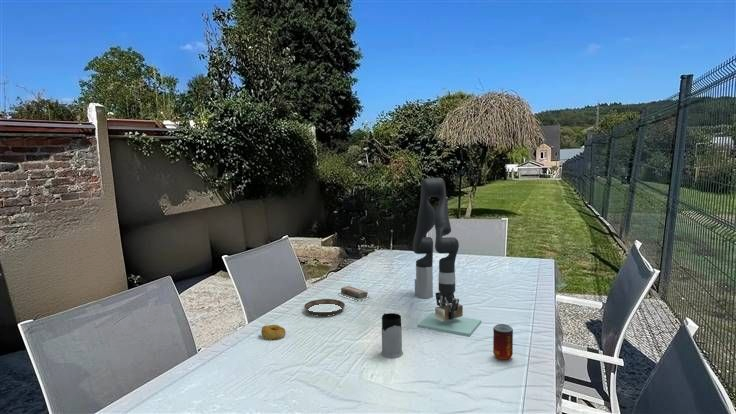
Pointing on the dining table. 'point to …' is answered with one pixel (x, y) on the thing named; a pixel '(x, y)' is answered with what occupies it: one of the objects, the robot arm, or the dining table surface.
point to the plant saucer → (324, 301)
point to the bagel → (273, 332)
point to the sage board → (451, 325)
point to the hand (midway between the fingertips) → (447, 317)
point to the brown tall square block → (447, 312)
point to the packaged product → (354, 293)
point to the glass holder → (391, 336)
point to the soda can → (503, 342)
